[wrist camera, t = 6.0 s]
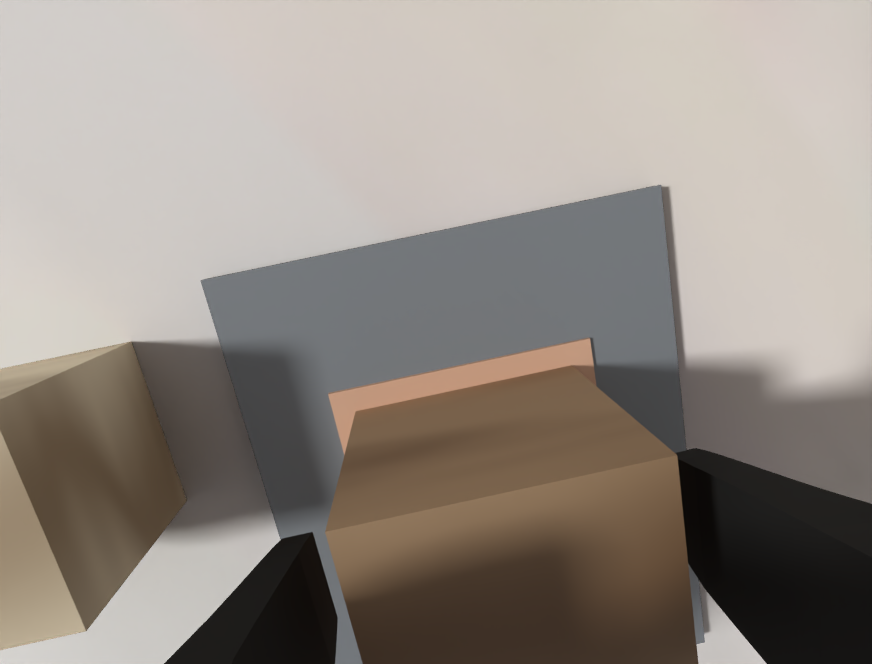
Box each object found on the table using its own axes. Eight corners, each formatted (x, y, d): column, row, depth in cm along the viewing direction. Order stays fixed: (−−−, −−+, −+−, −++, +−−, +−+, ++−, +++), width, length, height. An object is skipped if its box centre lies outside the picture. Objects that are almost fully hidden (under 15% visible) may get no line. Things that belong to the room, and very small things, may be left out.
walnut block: (599, 553, 12) (704, 733, 8) (402, 597, 12) (402, 803, 8) (571, 365, 11) (677, 454, 7) (355, 411, 11) (324, 531, 7)
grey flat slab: (698, 633, 14) (706, 645, 13) (339, 713, 14) (337, 728, 13) (654, 186, 11) (663, 184, 11) (206, 278, 11) (198, 280, 10)
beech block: (188, 498, 12) (85, 631, 8) (22, 534, 12) (-161, 685, 8) (133, 340, 11) (-12, 404, 7) (-47, 378, 11) (-290, 462, 7)
